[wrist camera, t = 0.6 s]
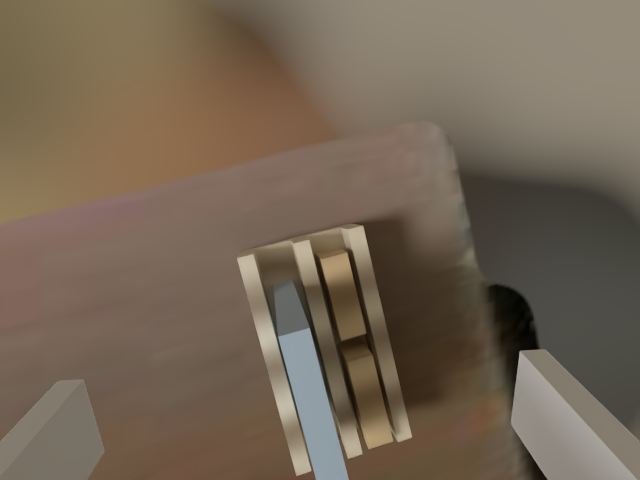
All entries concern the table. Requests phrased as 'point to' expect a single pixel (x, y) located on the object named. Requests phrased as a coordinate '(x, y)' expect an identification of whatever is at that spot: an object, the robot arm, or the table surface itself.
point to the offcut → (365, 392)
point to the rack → (321, 331)
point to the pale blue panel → (307, 384)
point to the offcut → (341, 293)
